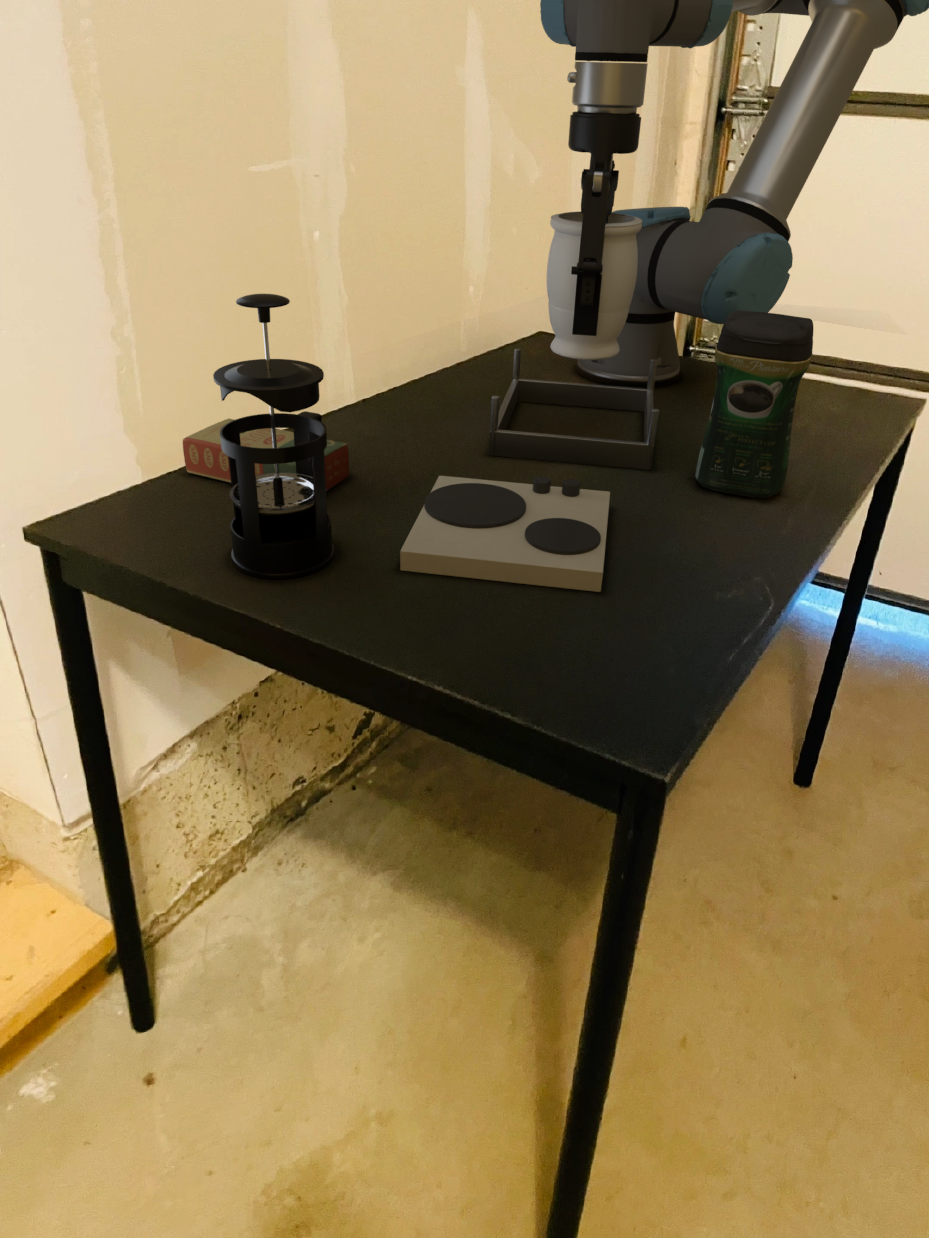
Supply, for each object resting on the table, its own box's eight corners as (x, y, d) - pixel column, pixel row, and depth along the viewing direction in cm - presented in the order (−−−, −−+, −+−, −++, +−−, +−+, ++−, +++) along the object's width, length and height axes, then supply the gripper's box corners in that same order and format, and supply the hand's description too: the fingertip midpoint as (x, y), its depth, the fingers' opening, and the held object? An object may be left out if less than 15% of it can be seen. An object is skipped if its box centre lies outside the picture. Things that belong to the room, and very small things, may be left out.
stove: (438, 492, 97) (439, 464, 96) (608, 509, 95) (611, 480, 93) (400, 570, 82) (399, 538, 80) (600, 592, 80) (604, 560, 78)
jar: (625, 367, 105) (641, 227, 97) (536, 360, 106) (544, 222, 98) (629, 343, 114) (644, 213, 106) (547, 337, 115) (556, 208, 107)
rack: (511, 399, 125) (514, 348, 122) (650, 410, 123) (657, 358, 119) (488, 455, 107) (491, 397, 103) (651, 470, 104) (659, 411, 101)
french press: (295, 592, 78) (274, 317, 66) (205, 568, 81) (170, 302, 69) (362, 538, 87) (354, 288, 76) (279, 519, 90) (259, 276, 79)
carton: (233, 451, 106) (229, 415, 104) (351, 477, 100) (350, 440, 98) (185, 474, 99) (180, 436, 97) (309, 504, 94) (307, 465, 91)
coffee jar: (786, 480, 103) (825, 311, 93) (777, 506, 97) (817, 328, 87) (701, 465, 106) (730, 301, 97) (686, 489, 100) (716, 316, 90)
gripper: (577, 104, 107) (563, 299, 118) (562, 114, 87) (546, 346, 99) (642, 106, 106) (621, 302, 117) (641, 117, 86) (616, 350, 98)
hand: (587, 322), depth 108 cm, fingers closed on jar, 11 cm apart
